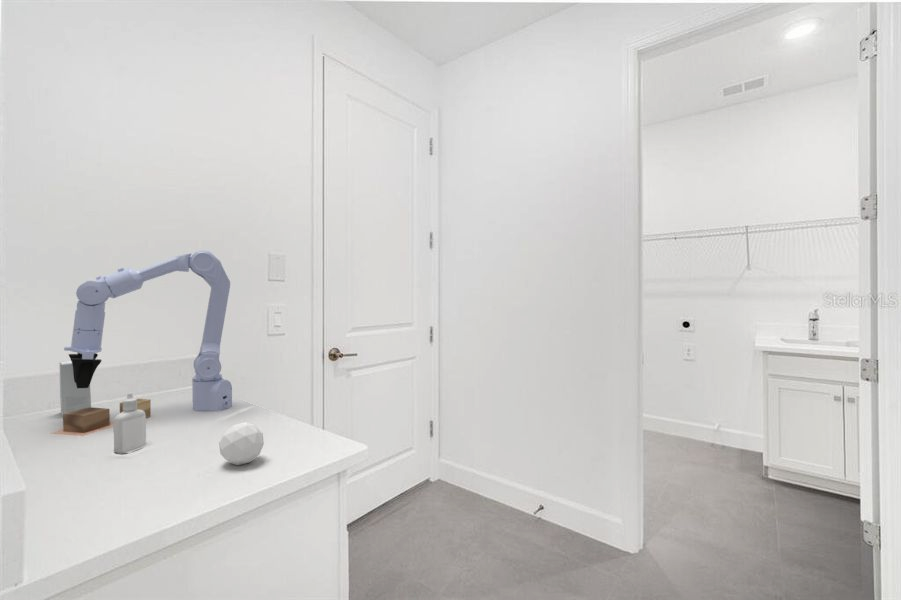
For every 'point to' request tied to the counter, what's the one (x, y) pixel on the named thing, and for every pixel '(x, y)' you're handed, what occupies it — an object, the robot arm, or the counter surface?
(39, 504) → the counter surface
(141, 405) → the oak block
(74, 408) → the skincare box
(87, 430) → the walnut base block
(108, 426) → the grey square plate
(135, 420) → the eye dropper bottle
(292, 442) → the counter surface
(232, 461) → the ball
